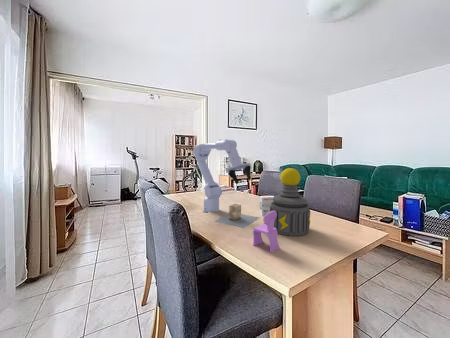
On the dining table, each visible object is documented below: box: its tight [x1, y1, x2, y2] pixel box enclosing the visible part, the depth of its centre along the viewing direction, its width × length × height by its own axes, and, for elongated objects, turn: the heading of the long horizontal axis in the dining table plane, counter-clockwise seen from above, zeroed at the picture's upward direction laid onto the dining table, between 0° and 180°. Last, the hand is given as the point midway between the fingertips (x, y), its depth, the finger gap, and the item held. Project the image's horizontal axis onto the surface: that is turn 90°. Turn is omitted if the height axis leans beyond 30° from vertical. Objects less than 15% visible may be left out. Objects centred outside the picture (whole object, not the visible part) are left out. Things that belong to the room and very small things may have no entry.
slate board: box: [213, 213, 261, 229], centre depth 116 cm, size 18×20×1 cm
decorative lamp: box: [270, 167, 311, 237], centre depth 103 cm, size 19×19×30 cm
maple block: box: [228, 203, 242, 221], centre depth 117 cm, size 4×6×8 cm, turn 147°
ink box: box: [259, 195, 275, 217], centre depth 125 cm, size 9×5×12 cm, turn 100°
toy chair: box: [252, 211, 280, 253], centre depth 85 cm, size 8×9×15 cm
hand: (243, 181), depth 116 cm, fingers open, 7 cm apart
